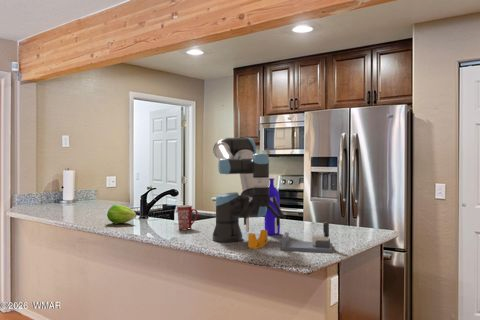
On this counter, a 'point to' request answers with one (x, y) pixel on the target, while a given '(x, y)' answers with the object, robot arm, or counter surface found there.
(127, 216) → the green papaya
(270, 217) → the bottle
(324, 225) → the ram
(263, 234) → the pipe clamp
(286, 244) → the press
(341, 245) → the counter surface
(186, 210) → the mug
